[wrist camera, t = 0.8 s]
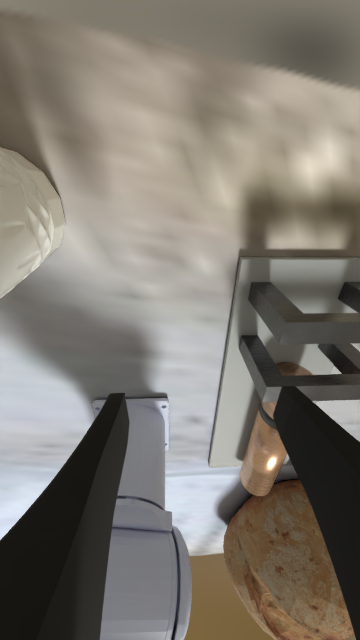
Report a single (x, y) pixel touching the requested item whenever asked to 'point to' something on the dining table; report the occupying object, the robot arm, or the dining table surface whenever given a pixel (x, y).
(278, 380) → the dark gray arch
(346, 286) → the collar
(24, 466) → the dining table surface
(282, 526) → the bread
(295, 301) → the pale gray board
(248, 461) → the copper tube
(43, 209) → the white cup
